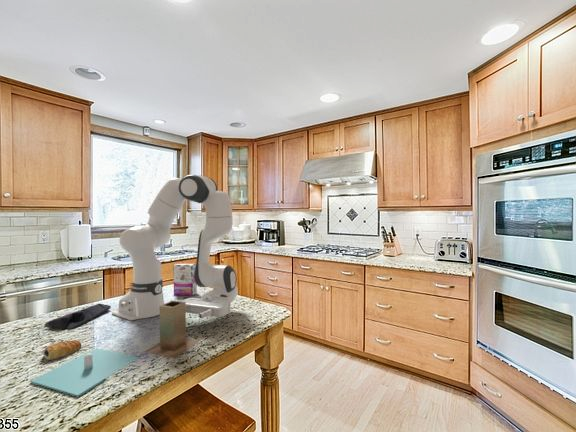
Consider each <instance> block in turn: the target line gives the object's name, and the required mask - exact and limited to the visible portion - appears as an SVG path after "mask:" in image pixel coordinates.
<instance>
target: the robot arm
mask: <svg viewBox="0 0 576 432" xmlns="http://www.w3.org/2000/svg"><path fill="white" fill-rule="evenodd" d="M187 200H188V201H191V202H195V203H198V204H203V206H204V208H205V223H204V227H203V229H201V231H200V232H199V237H198V245H197V250H196V251H197V253H196V262H195V264H196V267H195V271H194V281H195V282H196V284H197V287H199V288H213V289H211V290H210V291H207V292H205V293H204V294H203V295H202V296H201V297H200V298H196V297H187V298H185V299H182V300H180V302H185V307H186V314H192V315H193V314H194V315H198V318H199V319H205V318H207V317H214V318H215V317H216V318H222V317H225V316H226V315H228V314H230V313H231V307H232V306H231V305H232V303H233V301H235V299H236V298H237V296H238V294H239V289H238V286H237V280H238V278H237V274H236V271H235V269H234V267H232V266H231V265H229V264H227V265H226V264H211V263H210V257H211V256H210V254H211V247H212V244H213V243H214V242H215V241H217V240H219V239H221V238H223V237H225V236H227V235H228V234H229V233H231V230H232V228H233V209H232V203H231V198H230V195H229V194H228V193H227V192H225V191H224V190H223V191H222V190H218V185H217V182H216V181H215V180H214V179H212V178H211V177H207V176H205V175H196V174H188V175H186V176H184V177H182V178H179V177H171V178H169V180H168V181H167V182H165V184H164V185H163V186H162V187H161V189H160V190H159V191H158V194H156V197H155V198H154V200H153V202H152V203H150V206H149V208H148V211H147V212H148V215H149V218H148V221H147V223H146V224H144V225H136V226H132V227H129V228H127V229H125V230H124V231H122V232H121V233H120V236H119V245H120V247H121V248H122V249H123V250H124V251H125V252H127V254H128V255H129V257H130V260H131V262H132V263H131V264H132V269H133V271H132V272H133V273H132V274H133V281H132V282H131V283H129V287H130V290H129V291H128V292H126V294H125V295H123V296H122V297H121V298H119V300H118V307H117V308H116V309H114V310H112V313H111V314H112V315H114V316H115V317H119V318H123V319H126V320H128V321H136V320H139V319H148V318H153V317H155V316H156V317H157V316H160V306H161V305H163V304H165V299H164V291H163V287H164V286H163V285H164V282H163V279H162V262H161V261H160V260H159V259H158V258H157V255H156V252H155V249H159V248H160V247H163V246H165V245H166V244H168V243H169V242H170V241H171V240H170V239H171V232H170V230H171V229H172V225H173V222H174V221H175V219H176V217H177V216H178V215H179V214H178V213H179V212H180V210H181V209H182V207H183V206H184V205H185V202H186V201H187Z"/></svg>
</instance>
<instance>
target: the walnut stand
mask: <svg viewBox="0 0 576 432" xmlns="http://www.w3.org/2000/svg"><path fill="white" fill-rule="evenodd" d="M198 342H200V339H193V338H188V337H186V344H184V345H183V346H181V347H180V348H178V349H177V350H176V351H170V350H165V349H160V342H159V343H157V344H155V345H153V346H152V347H150V348H148V349H147V350H145V351H144V353H147V354H151V355H156V356H163V357H166V358H167V357H168V358H171V359H177V358H178V357H179V356H181V355H182V354H183V353H185V352H187V350H189V349H191V348H192V347H193V346H194V345H196V344H198Z"/></svg>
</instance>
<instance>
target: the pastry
mask: <svg viewBox="0 0 576 432" xmlns="http://www.w3.org/2000/svg"><path fill="white" fill-rule="evenodd" d="M81 348H82V343H81V341H80V340H72V341H71V340H65V341H58V342H56V343H52V344H49V345H46V346H45V347H44V349H43V352H42V355H43V356H44V357H43V358H44V359H46V360H48V361H54V359H55V360H58V359H60V358H61V357H62V358H63V357H67V356H68V355H71V354H73V353H75V352H77V351H78V350H80V349H81ZM66 355H67V356H66Z"/></svg>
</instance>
